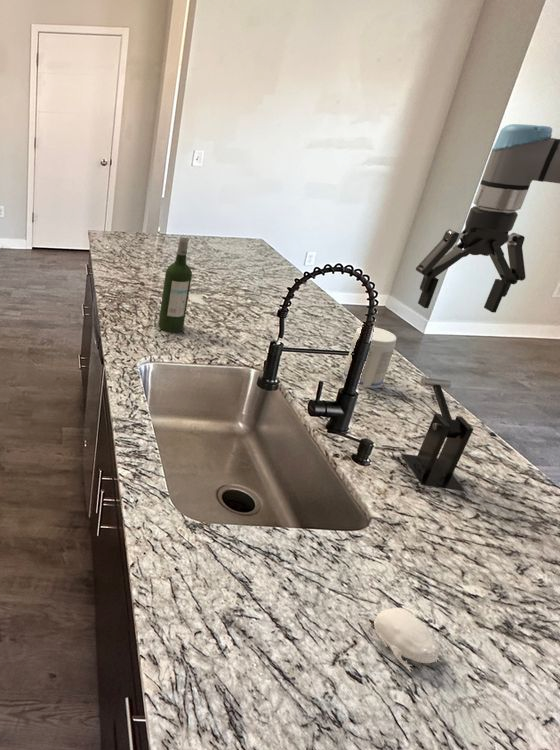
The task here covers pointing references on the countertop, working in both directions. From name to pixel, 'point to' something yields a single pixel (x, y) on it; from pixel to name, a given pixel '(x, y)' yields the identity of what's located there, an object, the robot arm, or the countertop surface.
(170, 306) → the wine bottle
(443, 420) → the bracket
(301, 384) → the countertop surface
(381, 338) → the supplement tub
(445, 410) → the tap lever
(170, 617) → the countertop surface
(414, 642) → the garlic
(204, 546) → the countertop surface
